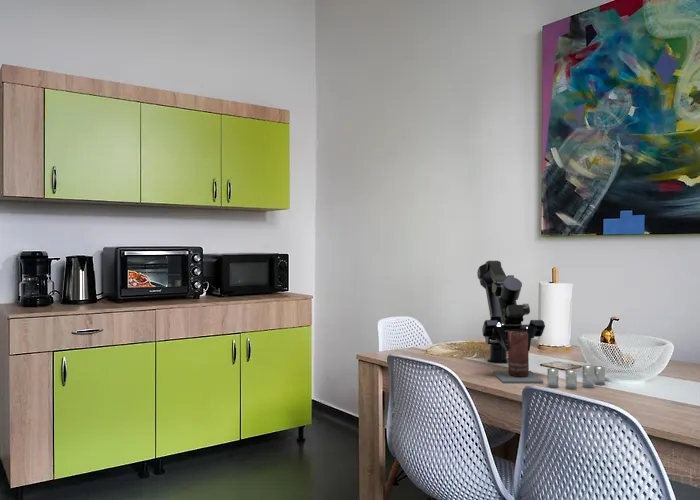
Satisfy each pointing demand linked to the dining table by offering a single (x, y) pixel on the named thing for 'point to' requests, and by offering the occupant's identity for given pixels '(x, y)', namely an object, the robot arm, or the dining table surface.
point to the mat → (517, 378)
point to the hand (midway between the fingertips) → (518, 350)
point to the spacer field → (589, 377)
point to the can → (518, 353)
